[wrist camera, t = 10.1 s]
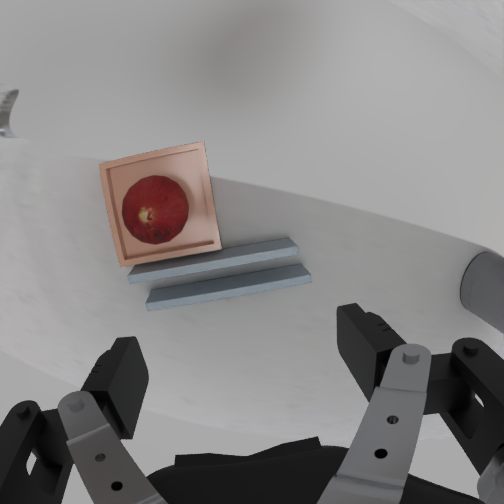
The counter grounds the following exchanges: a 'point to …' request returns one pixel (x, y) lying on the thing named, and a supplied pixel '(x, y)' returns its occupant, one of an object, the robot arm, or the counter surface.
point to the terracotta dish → (190, 180)
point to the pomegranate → (155, 209)
